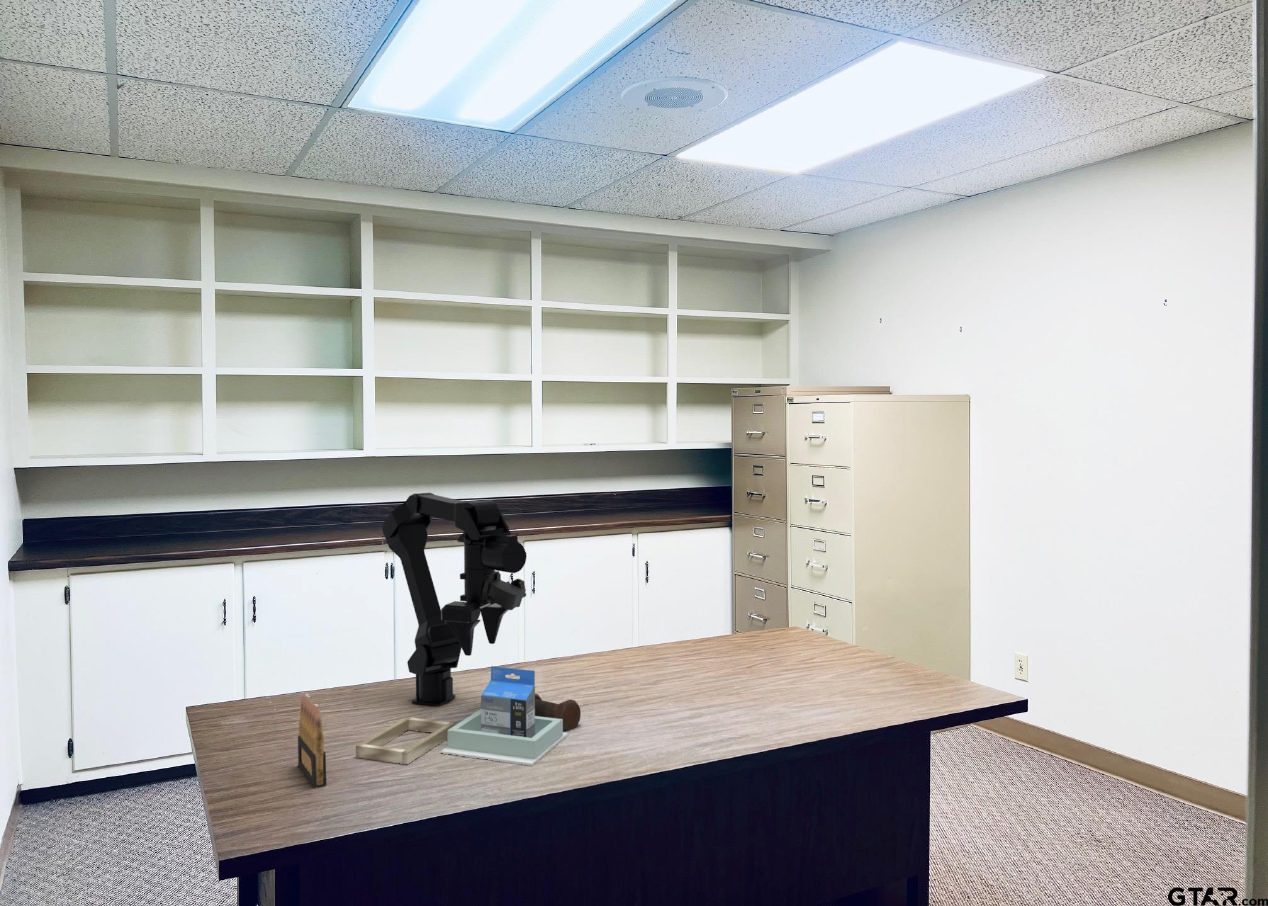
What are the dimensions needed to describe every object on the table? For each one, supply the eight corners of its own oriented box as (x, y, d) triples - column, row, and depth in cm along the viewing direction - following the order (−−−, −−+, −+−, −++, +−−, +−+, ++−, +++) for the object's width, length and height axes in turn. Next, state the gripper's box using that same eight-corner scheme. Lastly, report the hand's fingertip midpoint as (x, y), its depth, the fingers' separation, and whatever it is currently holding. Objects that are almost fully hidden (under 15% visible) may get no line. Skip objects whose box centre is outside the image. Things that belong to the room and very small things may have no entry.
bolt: (518, 721, 170) (574, 736, 160) (501, 714, 166) (557, 728, 157) (528, 691, 172) (584, 704, 162) (511, 684, 169) (567, 696, 159)
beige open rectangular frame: (355, 757, 146) (355, 745, 146) (406, 728, 160) (406, 717, 160) (407, 764, 143) (407, 752, 143) (454, 734, 157) (454, 723, 157)
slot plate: (440, 753, 148) (440, 733, 148) (483, 724, 162) (483, 706, 162) (531, 766, 142) (531, 745, 142) (568, 735, 157) (568, 716, 156)
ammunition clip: (297, 766, 143) (296, 693, 142) (309, 763, 144) (308, 691, 143) (314, 788, 134) (312, 710, 134) (326, 785, 135) (325, 708, 135)
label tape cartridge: (479, 742, 152) (479, 671, 152) (490, 734, 156) (490, 666, 155) (526, 748, 149) (525, 676, 149) (536, 740, 153) (535, 670, 152)
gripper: (494, 577, 154) (495, 665, 154) (539, 562, 172) (540, 641, 172) (439, 574, 157) (439, 660, 158) (488, 559, 175) (489, 636, 176)
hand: (480, 649), depth 166 cm, fingers open, 9 cm apart
